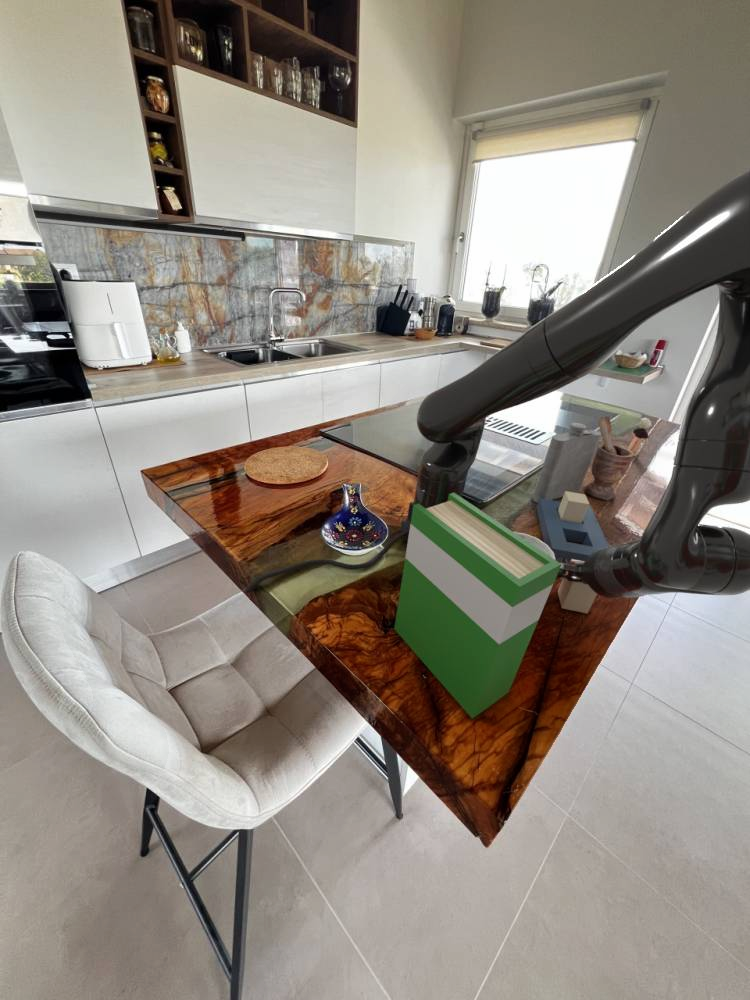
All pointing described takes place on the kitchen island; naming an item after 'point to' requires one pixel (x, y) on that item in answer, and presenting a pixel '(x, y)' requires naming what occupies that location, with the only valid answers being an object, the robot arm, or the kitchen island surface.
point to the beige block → (576, 595)
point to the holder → (569, 532)
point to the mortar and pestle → (608, 464)
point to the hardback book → (470, 599)
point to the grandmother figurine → (639, 435)
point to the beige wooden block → (573, 507)
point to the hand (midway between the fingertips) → (579, 578)
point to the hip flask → (566, 462)
